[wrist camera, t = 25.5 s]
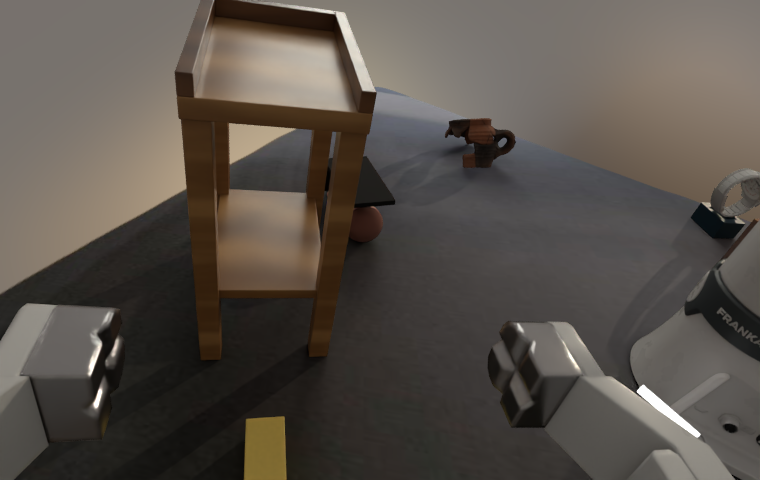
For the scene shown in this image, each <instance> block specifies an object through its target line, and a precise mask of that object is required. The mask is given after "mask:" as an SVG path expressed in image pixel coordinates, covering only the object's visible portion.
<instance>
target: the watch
mask: <svg viewBox="0 0 760 480" xmlns="http://www.w3.org/2000/svg"><path fill="white" fill-rule="evenodd" d="M739 183H741V187H742V194H741V196H742V197H743V198H742V199H741V200H740V201H738V202H737V203H736V204H733V205H731V206H729V207H725V202H726V199H727V197H728V196H726V195H727V194H728V192H729V191H730V190H731V188H733V187H734V186H735V185H736V184H739ZM724 186H725V187H724ZM742 204H743V205H742ZM759 204H760V172H756V171H753V170H752V169H748V168H746V169H740V170H738V171H735V172H733V173H731V174H730V175H728V176H727V177H725V178H724V179H723V180H722V181H721V182H720V183H719V184H718V186H717V187H716V188H715V189H714V191H713V193H712V196H711V203H701V204H700V205H699V207H698V208H697V209H696V211H695V212H694V213H693V215H692V216H691V218H692V219H693V220H694V221H695V222H696V223H697V224H698V225H699V226H700V227H702V228H703V229H704V230H705V231H706V232H707V233H708V234H709V235H710V236H711V237H712V238H731V239H733V238H734V237H735V236H736V235H737V233H738V232H739V231H740V230H741V229H742V227H743V226H744V225H745V223H744V222H743V221H742V220H740V219H739V218H738V217H737V216H739V215H741V214H743V213H745V212H747V211H749V210H750V209H751V208H753V207H754V206H755V207H756V206H758V205H759ZM749 207H750V208H749Z"/></svg>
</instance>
